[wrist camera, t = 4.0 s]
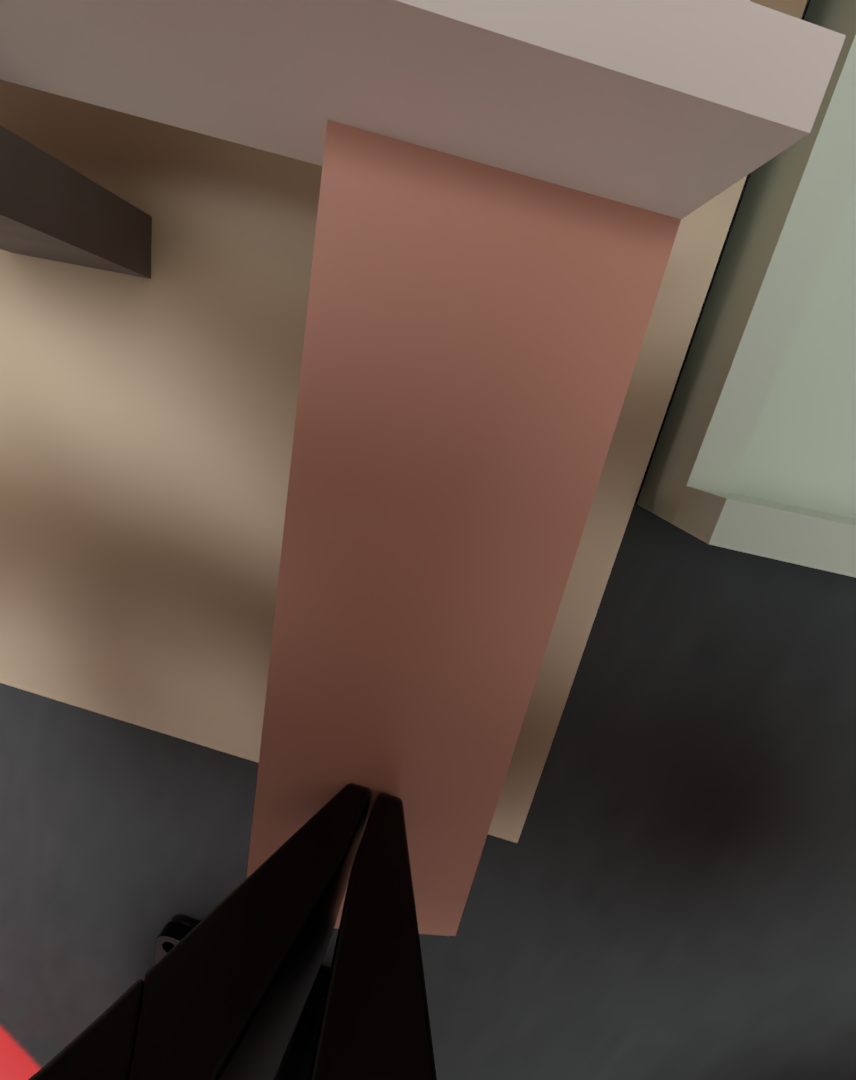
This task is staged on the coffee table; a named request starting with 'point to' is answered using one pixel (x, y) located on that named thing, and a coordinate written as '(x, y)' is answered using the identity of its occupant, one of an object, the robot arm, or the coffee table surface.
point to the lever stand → (210, 421)
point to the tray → (777, 356)
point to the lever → (445, 332)
